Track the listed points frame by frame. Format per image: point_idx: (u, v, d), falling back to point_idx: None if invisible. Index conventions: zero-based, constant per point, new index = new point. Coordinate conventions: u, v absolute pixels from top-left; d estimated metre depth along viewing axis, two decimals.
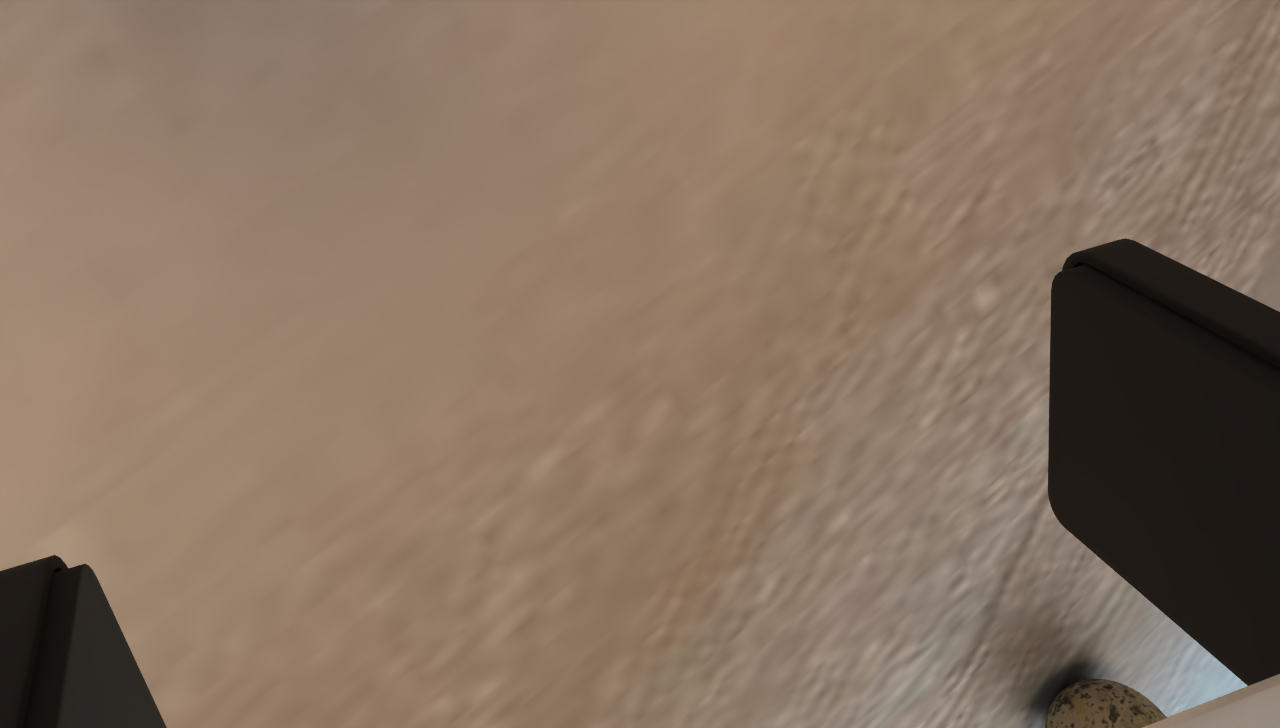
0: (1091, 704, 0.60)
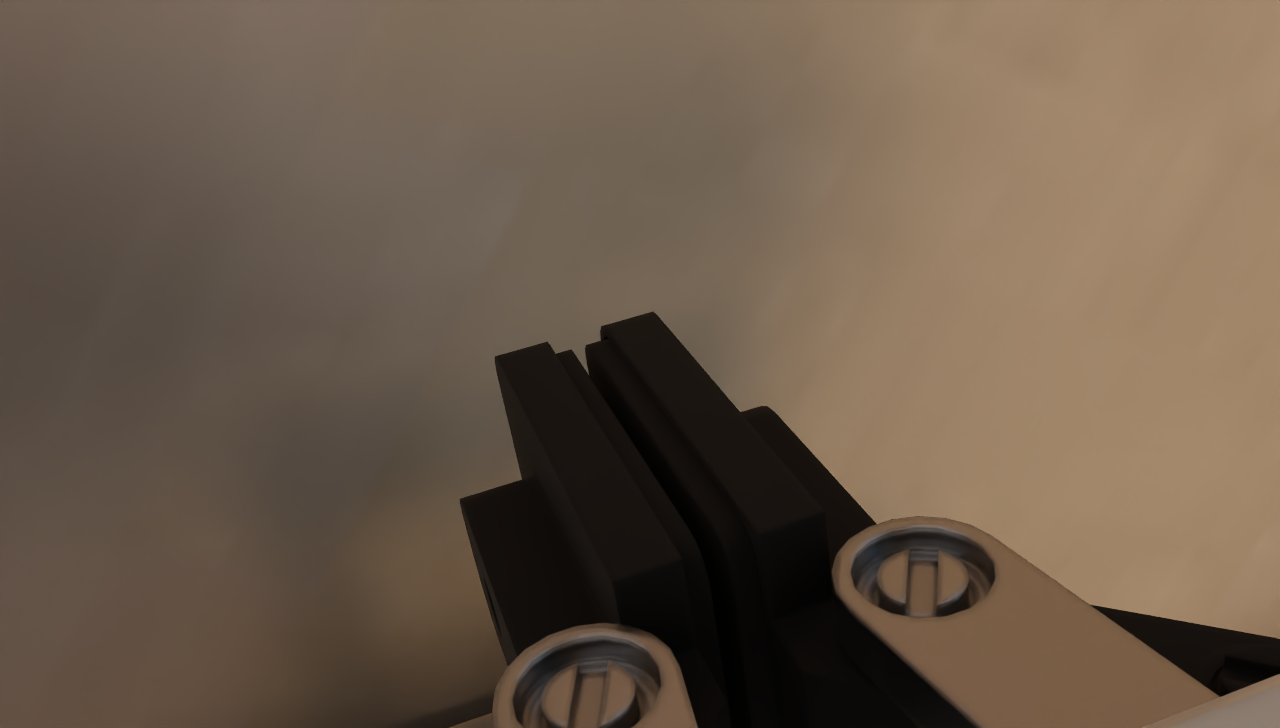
0: None
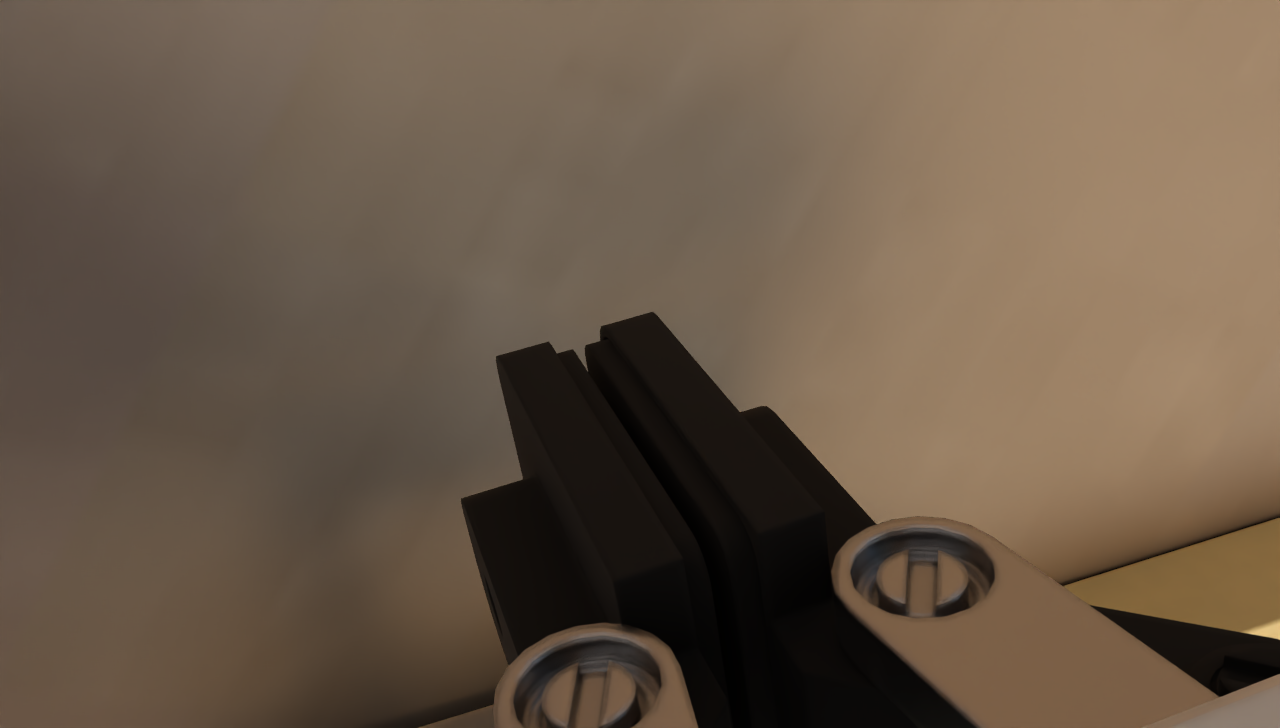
0: None
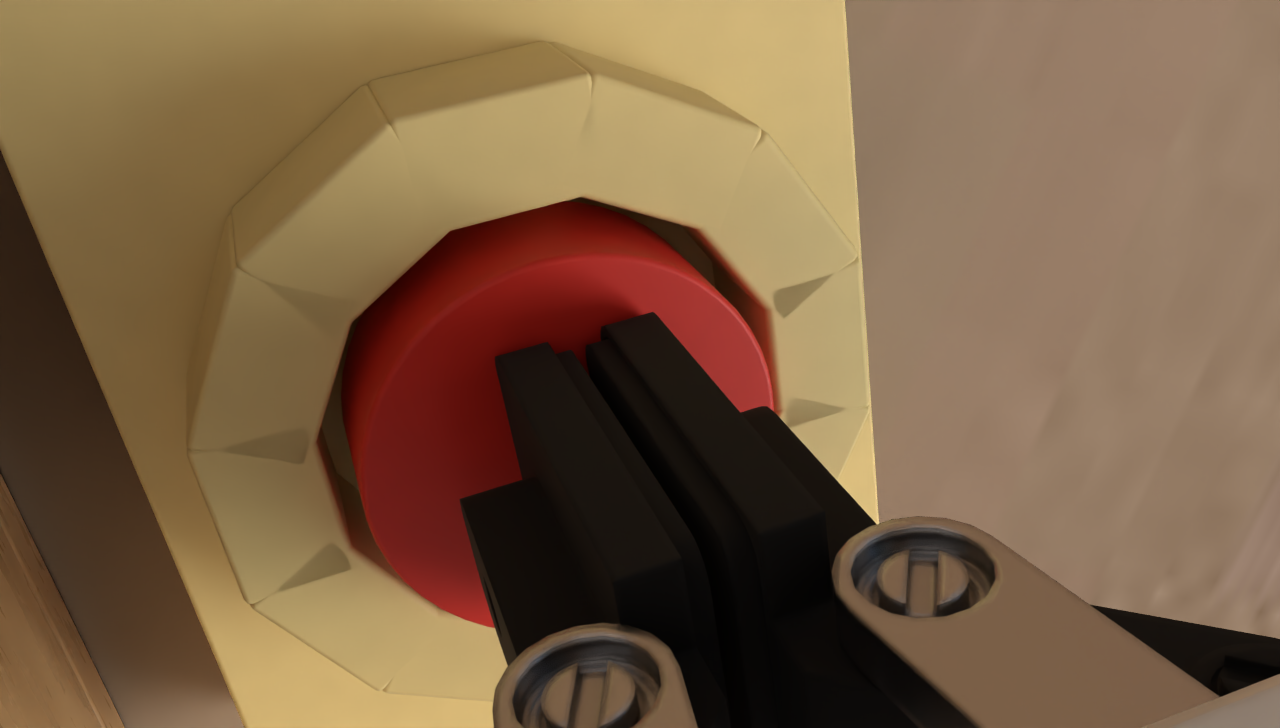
0: None
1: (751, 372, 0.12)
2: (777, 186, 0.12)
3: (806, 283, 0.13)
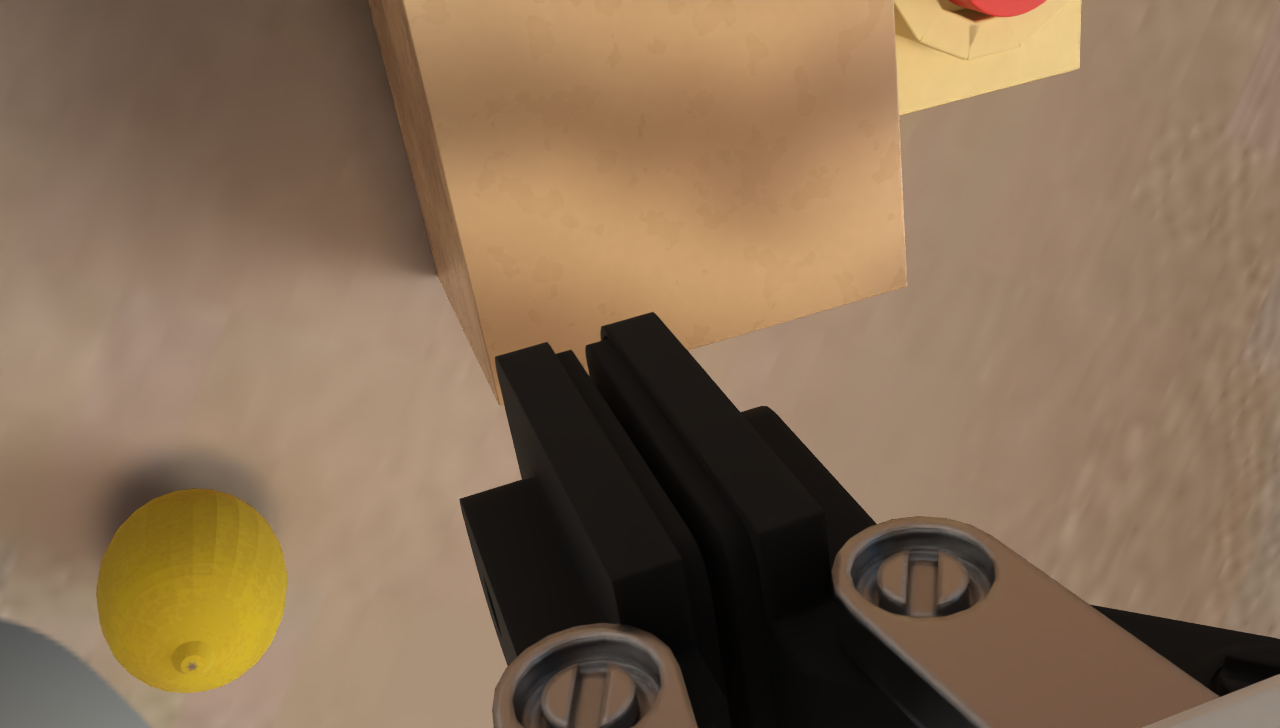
0: None
1: None
2: None
3: None
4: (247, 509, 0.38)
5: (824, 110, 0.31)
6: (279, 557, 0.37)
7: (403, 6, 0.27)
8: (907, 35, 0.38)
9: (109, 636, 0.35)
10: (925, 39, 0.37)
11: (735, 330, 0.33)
